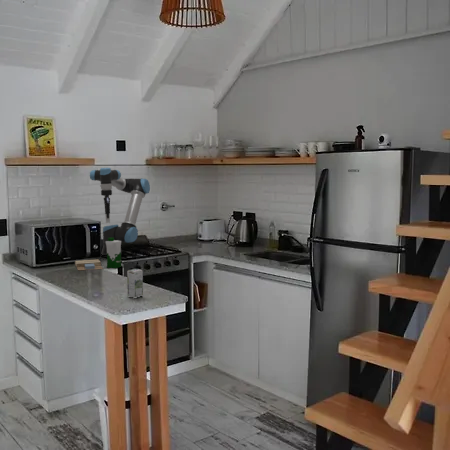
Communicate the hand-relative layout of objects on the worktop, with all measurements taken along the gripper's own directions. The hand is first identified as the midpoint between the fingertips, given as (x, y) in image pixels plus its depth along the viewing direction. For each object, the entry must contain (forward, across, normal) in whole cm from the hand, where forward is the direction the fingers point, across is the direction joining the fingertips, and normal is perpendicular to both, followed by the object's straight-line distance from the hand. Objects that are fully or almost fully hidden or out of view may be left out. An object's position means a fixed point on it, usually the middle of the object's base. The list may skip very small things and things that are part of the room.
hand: (107, 222), depth 388 cm
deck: (+27, +13, -16) cm, 34 cm away
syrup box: (+26, +114, -2) cm, 117 cm away
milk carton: (+28, +25, 0) cm, 38 cm away
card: (+27, +24, -16) cm, 39 cm away
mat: (+27, +24, -16) cm, 40 cm away
